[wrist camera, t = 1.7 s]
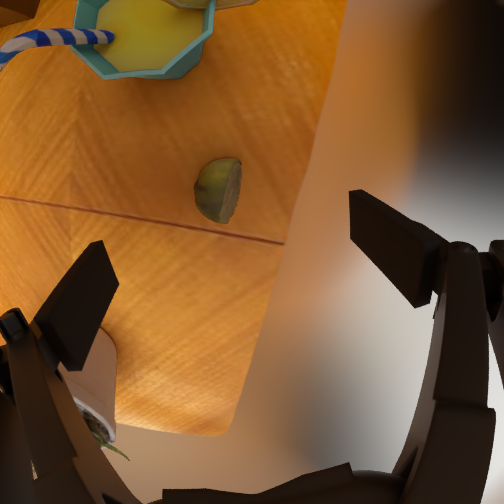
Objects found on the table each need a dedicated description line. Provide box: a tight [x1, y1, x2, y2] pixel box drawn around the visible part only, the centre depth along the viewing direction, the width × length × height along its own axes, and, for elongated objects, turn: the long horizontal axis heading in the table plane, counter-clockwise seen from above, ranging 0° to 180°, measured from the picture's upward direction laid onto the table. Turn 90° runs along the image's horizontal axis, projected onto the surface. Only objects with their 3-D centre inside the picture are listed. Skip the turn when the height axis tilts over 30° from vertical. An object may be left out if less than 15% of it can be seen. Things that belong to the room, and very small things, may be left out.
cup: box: [0, 0, 259, 80], centre depth 12 cm, size 14×8×15 cm, turn 109°
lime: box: [194, 158, 242, 224], centre depth 22 cm, size 4×5×5 cm
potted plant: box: [32, 327, 130, 473], centre depth 22 cm, size 13×14×20 cm
